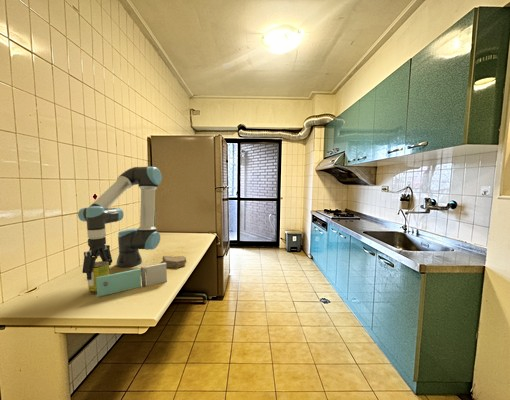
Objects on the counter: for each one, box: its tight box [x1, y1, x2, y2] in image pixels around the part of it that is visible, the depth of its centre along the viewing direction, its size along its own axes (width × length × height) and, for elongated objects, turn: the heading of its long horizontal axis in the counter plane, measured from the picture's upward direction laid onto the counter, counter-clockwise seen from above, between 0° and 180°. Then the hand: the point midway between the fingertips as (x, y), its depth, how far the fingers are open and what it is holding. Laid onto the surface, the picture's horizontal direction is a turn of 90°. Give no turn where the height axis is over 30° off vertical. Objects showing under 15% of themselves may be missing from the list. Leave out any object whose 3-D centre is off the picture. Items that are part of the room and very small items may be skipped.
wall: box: [140, 262, 168, 288], centre depth 128 cm, size 3×20×10 cm, turn 126°
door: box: [96, 268, 142, 298], centre depth 119 cm, size 3×19×9 cm, turn 126°
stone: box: [161, 255, 187, 269], centre depth 161 cm, size 17×15×4 cm
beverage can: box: [88, 260, 110, 292], centre depth 122 cm, size 9×9×12 cm
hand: (99, 281), depth 122 cm, fingers closed on beverage can, 9 cm apart
